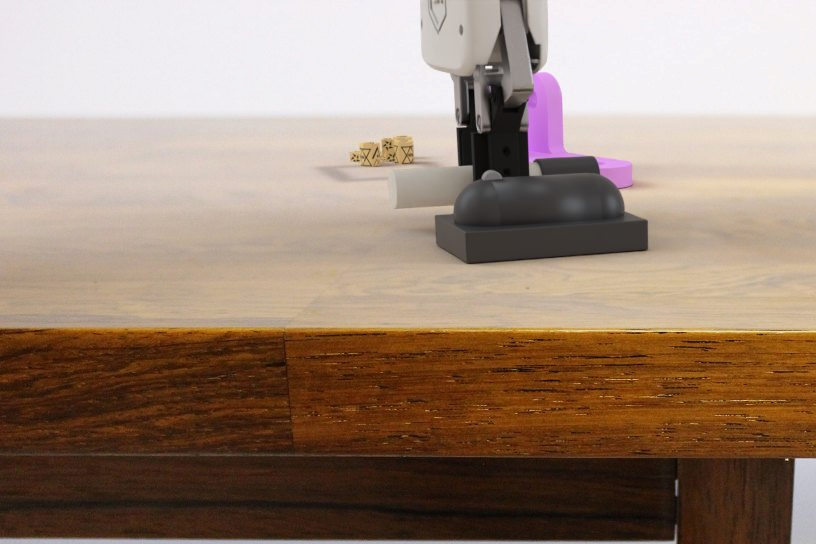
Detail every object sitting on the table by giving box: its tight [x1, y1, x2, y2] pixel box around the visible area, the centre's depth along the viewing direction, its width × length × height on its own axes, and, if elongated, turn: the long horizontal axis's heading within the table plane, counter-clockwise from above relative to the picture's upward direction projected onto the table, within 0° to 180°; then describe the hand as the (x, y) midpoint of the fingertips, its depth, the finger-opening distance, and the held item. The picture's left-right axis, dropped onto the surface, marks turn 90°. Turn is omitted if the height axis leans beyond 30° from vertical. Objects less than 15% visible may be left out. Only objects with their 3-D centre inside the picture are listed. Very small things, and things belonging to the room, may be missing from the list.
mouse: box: [434, 170, 649, 264], centre depth 79 cm, size 10×6×4 cm, turn 115°
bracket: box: [489, 71, 633, 189], centre depth 105 cm, size 13×6×7 cm, turn 45°
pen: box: [387, 155, 600, 210], centre depth 86 cm, size 12×2×2 cm, turn 115°
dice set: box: [349, 135, 415, 168], centre depth 114 cm, size 5×5×2 cm
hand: (494, 196), depth 87 cm, fingers closed on pen, 2 cm apart
